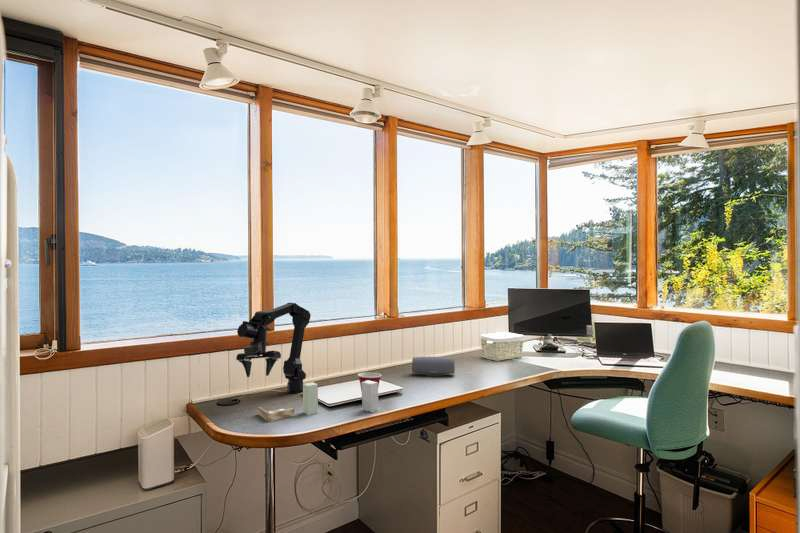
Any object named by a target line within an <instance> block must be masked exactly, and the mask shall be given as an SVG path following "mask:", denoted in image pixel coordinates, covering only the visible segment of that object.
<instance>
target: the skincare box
mask: <svg viewBox="0 0 800 533" xmlns="http://www.w3.org/2000/svg"><path fill="white" fill-rule="evenodd" d="M361 385H362V392H361V402H362V403H361V407H362V411H364V410H365V411H364V412H368V411H369V412H368V413H371V412H373V413H375V412H374V411H377V412H379V408H380V407H379V386H378V382H374V381H369V380H367V381H363V382H361ZM361 385H360V386H361Z"/></svg>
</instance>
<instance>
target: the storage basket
mask: <svg viewBox="0 0 800 533" xmlns="http://www.w3.org/2000/svg"><path fill="white" fill-rule="evenodd" d="M524 338H525V335H524V334H519V333H514V332H509V331H507V332H495V333H494V332H493V333H485V334H481V335H480V345H481V346H480V348H481V357H482V358H484V359H488V360H490V361H491V360H492V361H496V362H499V361H505V360H513V359H520V358H522V357H523V356H522V355H523V347H524V341H525V339H524Z"/></svg>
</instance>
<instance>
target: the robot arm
mask: <svg viewBox="0 0 800 533" xmlns="http://www.w3.org/2000/svg"><path fill="white" fill-rule="evenodd" d="M287 314H288V315H289V316H290V317H291V318H292V321H291V322H292V325H293V327H294V328H293V333H292V339H291V346H290V351H289V357H288V358H287V360H286V359H285V360H283V367H282V372H283V374H284V378H285V379H286V380H288V381H287V386H286V387H287V389H286V391H287V393H290V394H291V395H292V394H293V395H294V394H298V393H303V392H302V391H303V384H304V380H305V379H306V378H307V373H306V372H305V371H304V370H303V363H302V361H301V354H302V347H303V342H304V341H303V340H304V334H305V330H306V327H307V326H308V325H309V324H310V321H311V316H312V315H311V312H310V311H309V310H307V309H306V308H304V307H302V306H300V305H299V304H298V303H295V302H287V303H285V304H283V305H280V306H278V307H275V308H272V309H269V310H259V311H256V312H255V313H254V315H253V316H252V318H250V320H249V321H245V320H243V321H242V323H241V324H240V325H239V327H238V328H237V335H238V336H239V337H240V338H246V339H250V340H251V339H252V341H250V343H249V345H247V346H245V347H243V353H242V352H241V353H238V354H237V355H236V360H235V361H238V362H239V363H241V364H242V365H243V368H244V370H245V374H246V377H247V378H250V377H251V376H250V375H251V370H252V364H253V363H252V362H253V361H251V360H253V359H264V358H265V359H264V360H265V363H266V367H265V376H267V377H268V376H269V375H270V373H271V371H272V369H273V367H274V365H275V364H276V363H277V361H279V359H281V358H282V354H281V351H277V350H267V346H268V344H269V343H268V342H267V334H268V333H267V332H269V331H271V328H270V327H269V325H271V324H272V323H273V322H274V321H275V320H276V319H278V318H280V317H282V316H285V315H287Z"/></svg>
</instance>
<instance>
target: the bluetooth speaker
mask: <svg viewBox="0 0 800 533" xmlns="http://www.w3.org/2000/svg"><path fill="white" fill-rule="evenodd" d="M411 362H412V365H411V371H412V372H411V373H412V374H421V375H424V376H426V377H427V376H429V377H430V376H432V377H434V376H437V377H443V376H444V375H450V374H455V368H456V367H455V357H448V356H447V357H446V356H414V357H412V361H411Z"/></svg>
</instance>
